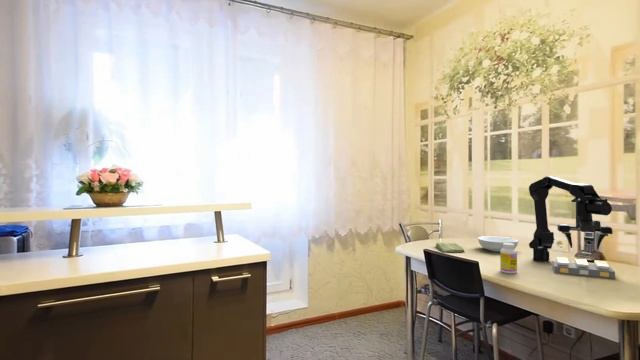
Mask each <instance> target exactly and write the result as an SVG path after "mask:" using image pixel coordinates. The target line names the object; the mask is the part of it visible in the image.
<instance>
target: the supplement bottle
mask: <svg viewBox="0 0 640 360" xmlns="http://www.w3.org/2000/svg"><path fill="white" fill-rule="evenodd" d="M514 247H515V246H514V244H513V243H503V249H501V251H500V252H499V255H500V257H499V258H500V262H499V263H500V267H499V268H500V272H502V273H505V274H510V275H511V274H512V275H513V274H516V273H518V251H517V250H516V248H515V249H514Z"/></svg>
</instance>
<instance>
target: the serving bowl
mask: <svg viewBox="0 0 640 360" xmlns="http://www.w3.org/2000/svg"><path fill="white" fill-rule="evenodd" d="M477 240H478V244H479V245H480V246H481V248H483V249H485V250H488V251H490V252H494V253H495V252H496V253H500V251H501V249H503V243H513V244H514V246H515V247H514V249H515V250H516V248H517V247H518V244H519V240H518V239H517V238H512V237H507V236H497V235H495V236H494V235H485V236H484V235H483V236H478V237H477Z"/></svg>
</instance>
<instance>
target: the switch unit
mask: <svg viewBox="0 0 640 360" xmlns="http://www.w3.org/2000/svg"><path fill="white" fill-rule="evenodd" d="M551 262H552V263H551V264H552V265H551V267H552V270H553V272H554V273H555V274H562V275H563V274H564V275H574V276H575V275H576V276H581V277H593V278H605V279H612V280H614V279H616V272H615V270H613V268H612V267H610V265H608V266H609V269H600V268H597V267H596V265H595V264H592V263H591V264H589V263H588V265H589V267H578V266H577V265H576V262H569V266H567V265H558V263H557V260H552V261H551Z"/></svg>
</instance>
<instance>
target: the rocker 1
mask: <svg viewBox="0 0 640 360" xmlns="http://www.w3.org/2000/svg"><path fill="white" fill-rule="evenodd" d="M556 261H557V263H558V265H567V266H569V263H570V261H569V260H568V258H567V257H559V256H556Z"/></svg>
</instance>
